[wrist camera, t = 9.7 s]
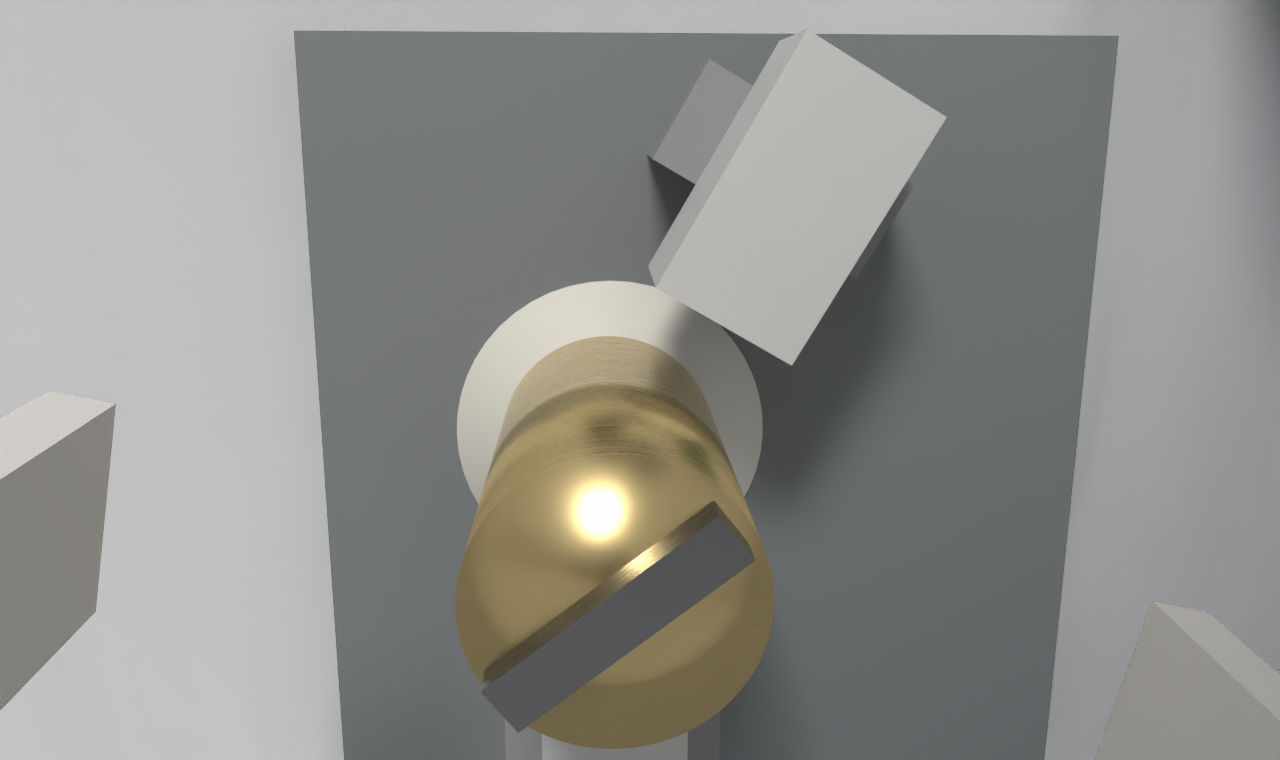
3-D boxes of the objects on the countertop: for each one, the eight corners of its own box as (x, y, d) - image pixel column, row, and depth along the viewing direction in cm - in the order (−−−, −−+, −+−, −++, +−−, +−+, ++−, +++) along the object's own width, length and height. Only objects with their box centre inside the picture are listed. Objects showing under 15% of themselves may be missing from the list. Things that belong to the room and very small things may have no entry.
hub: (626, 292, 22) (646, 401, 14) (754, 455, 23) (846, 649, 15) (459, 422, 22) (380, 603, 14) (590, 576, 23) (588, 831, 15)
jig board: (307, 34, 22) (210, 7, 16) (1095, 39, 22) (1257, 14, 17) (354, 749, 25) (289, 922, 20) (1027, 735, 26) (1141, 899, 21)
